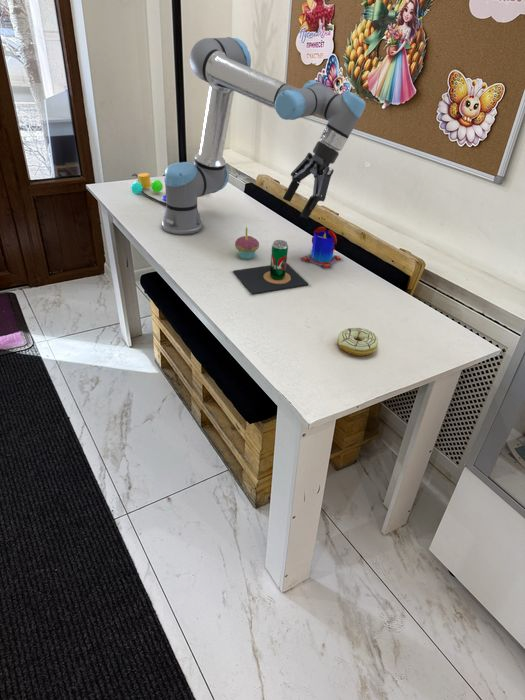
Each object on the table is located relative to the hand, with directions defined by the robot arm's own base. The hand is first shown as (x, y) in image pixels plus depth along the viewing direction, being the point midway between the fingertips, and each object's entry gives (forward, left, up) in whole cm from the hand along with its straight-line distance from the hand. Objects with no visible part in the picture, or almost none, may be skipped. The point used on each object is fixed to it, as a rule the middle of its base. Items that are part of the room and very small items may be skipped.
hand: (294, 208), depth 163 cm
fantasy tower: (-2, +14, -21) cm, 25 cm away
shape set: (-79, -19, -21) cm, 84 cm away
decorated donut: (+49, -4, -21) cm, 53 cm away
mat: (+6, -10, -21) cm, 24 cm away
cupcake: (-12, -11, -21) cm, 26 cm away
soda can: (+7, -8, -20) cm, 23 cm away
